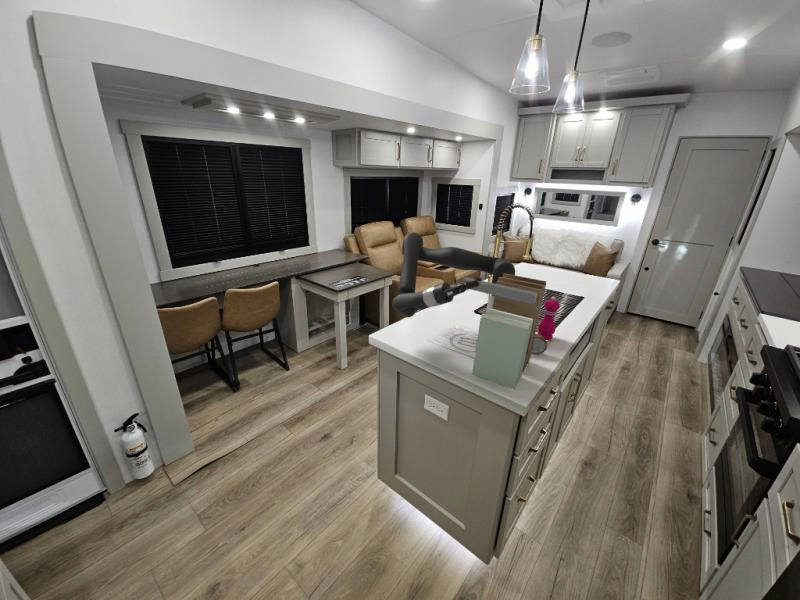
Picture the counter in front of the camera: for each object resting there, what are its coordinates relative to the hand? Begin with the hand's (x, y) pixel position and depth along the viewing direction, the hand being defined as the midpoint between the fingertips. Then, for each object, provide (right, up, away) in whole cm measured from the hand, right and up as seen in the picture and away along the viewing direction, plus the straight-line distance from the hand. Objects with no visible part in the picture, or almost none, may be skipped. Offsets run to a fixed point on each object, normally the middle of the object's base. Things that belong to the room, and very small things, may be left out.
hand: (479, 281), depth 108 cm
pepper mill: (+39, -24, +37) cm, 59 cm away
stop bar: (+5, -4, -2) cm, 7 cm away
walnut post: (+15, -30, +16) cm, 37 cm away
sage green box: (+8, -33, +6) cm, 35 cm away
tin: (+25, -28, +24) cm, 45 cm away
